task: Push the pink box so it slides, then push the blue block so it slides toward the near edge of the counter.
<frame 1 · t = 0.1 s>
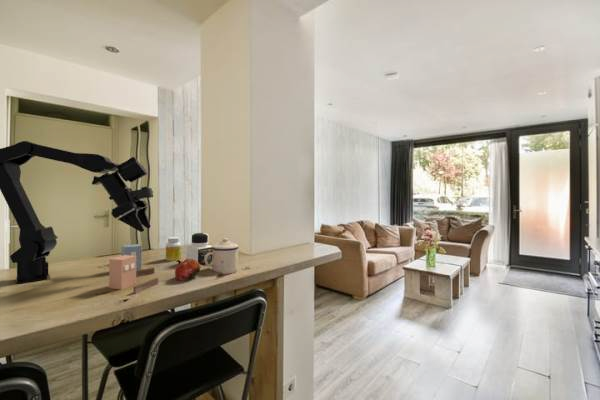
hand: (146, 229, 93), 15 cm above the breakfast bar, tool tilted 35°, fingers open, 9 cm apart
pink box 2: (123, 271, 77), point 5 cm above the breakfast bar, slide at 0.0 cm
plinth 1: (134, 274, 91), on the breakfast bar
teacup with lid: (221, 272, 98), on the breakfast bar
plinth 2: (130, 290, 77), on the breakfast bar
supplement bottle: (173, 262, 109), on the breakfast bar
blue block 1: (131, 257, 94), point 5 cm above the breakfast bar, slide at 0.0 cm
pomegranate: (188, 282, 86), on the breakfast bar
medicine bottle: (199, 265, 106), on the breakfast bar
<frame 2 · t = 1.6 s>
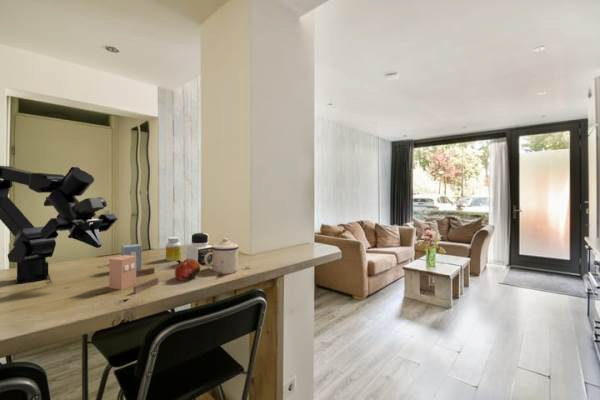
hand: (99, 246, 79), 12 cm above the breakfast bar, tool tilted 45°, fingers closed
nothing on the breakfast bar moved.
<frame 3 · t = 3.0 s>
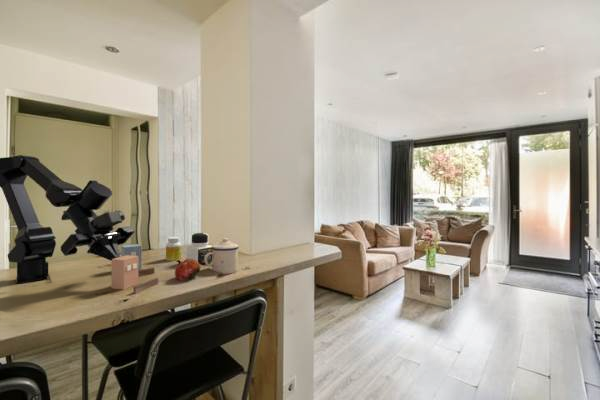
hand: (118, 261, 78), 8 cm above the breakfast bar, tool tilted 45°, fingers closed, pressing on pink box 2
pink box 2: (125, 271, 77), point 5 cm above the breakfast bar, slide at 0.7 cm, touching gripper
everything else where it was.
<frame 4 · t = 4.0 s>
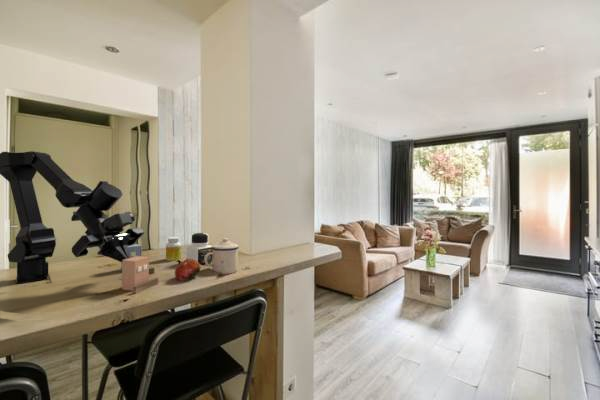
hand: (129, 263, 77), 8 cm above the breakfast bar, tool tilted 45°, fingers closed, pressing on pink box 2
pink box 2: (136, 272, 77), point 5 cm above the breakfast bar, slide at 4.2 cm, touching gripper
everything else where it was.
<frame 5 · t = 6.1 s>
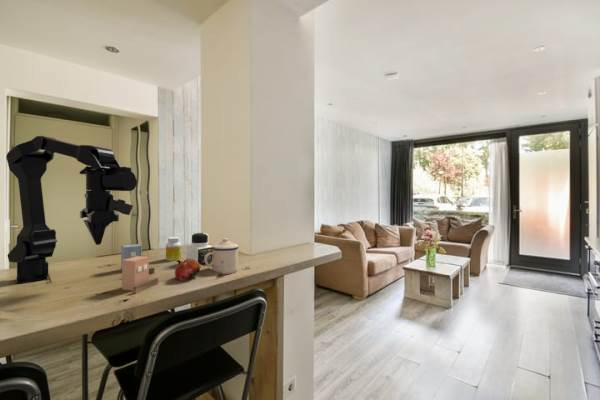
hand: (98, 244, 80), 12 cm above the breakfast bar, tool pointing down, fingers closed
pink box 2: (136, 272, 77), point 5 cm above the breakfast bar, slide at 4.2 cm
everything else where it was.
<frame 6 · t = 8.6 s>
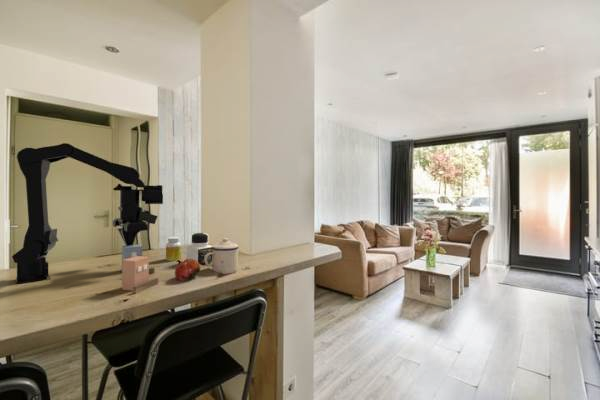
hand: (129, 249, 96), 8 cm above the breakfast bar, tool pointing down, fingers closed
blue block 1: (132, 257, 93), point 5 cm above the breakfast bar, slide at 0.8 cm, touching gripper
everything else where it was.
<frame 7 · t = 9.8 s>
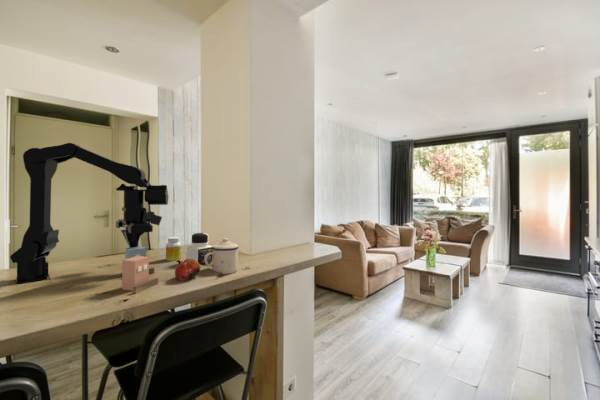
hand: (133, 251, 93), 8 cm above the breakfast bar, tool pointing down, fingers closed
blue block 1: (136, 260, 90), point 5 cm above the breakfast bar, slide at 5.1 cm, touching gripper
everything else where it was.
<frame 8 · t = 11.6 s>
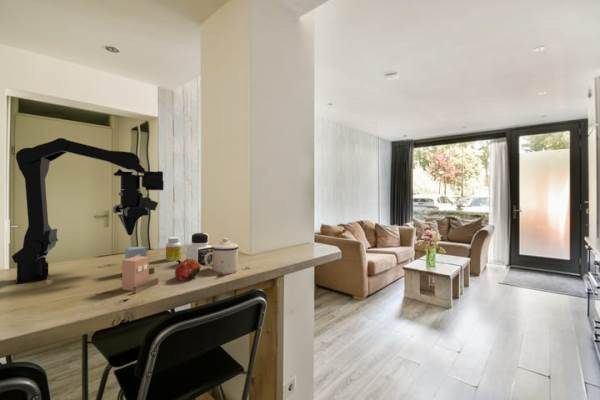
hand: (129, 235, 95), 12 cm above the breakfast bar, tool pointing down, fingers closed
blue block 1: (136, 260, 90), point 5 cm above the breakfast bar, slide at 5.1 cm
everything else where it was.
at the end: pink box 2 slide at 4.2 cm; blue block 1 slide at 5.1 cm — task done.
